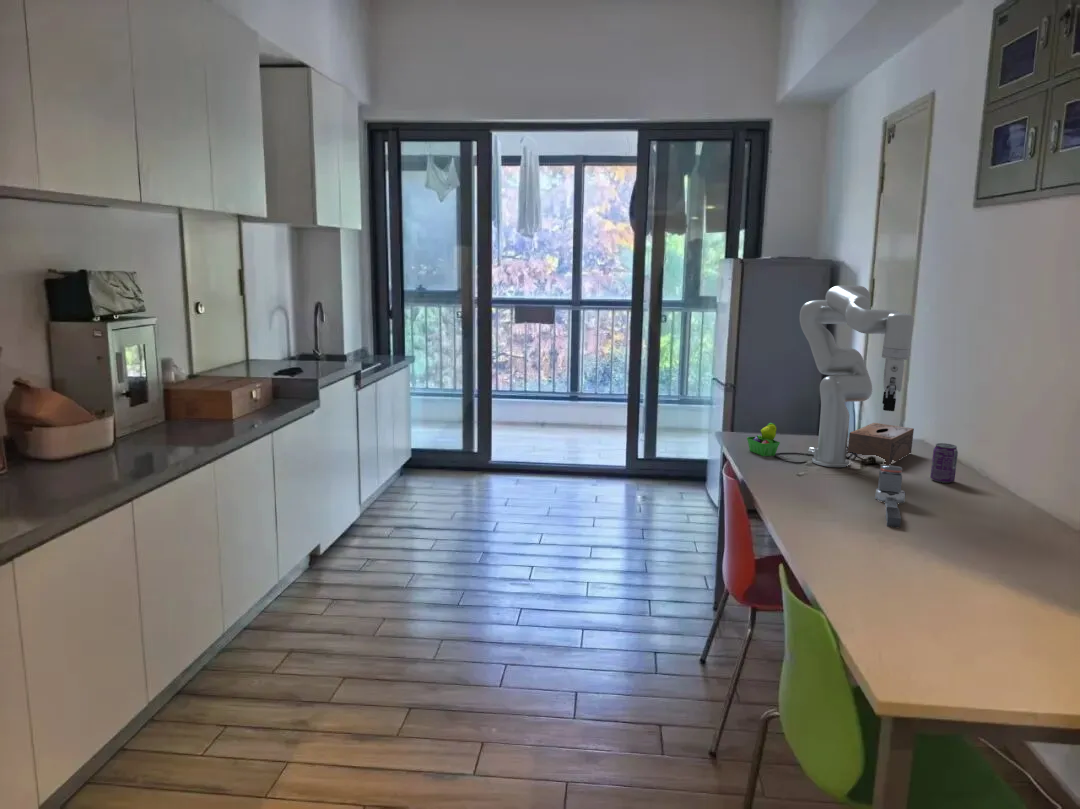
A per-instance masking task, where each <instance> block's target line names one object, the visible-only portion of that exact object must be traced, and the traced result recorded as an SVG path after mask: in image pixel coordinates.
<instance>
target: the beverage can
mask: <svg viewBox="0 0 1080 809" xmlns="http://www.w3.org/2000/svg"><path fill="white" fill-rule="evenodd" d="M958 455H959V451H958V446H957V445H954V444H952V443H945V442H944V443H943V442H940V443H935V446H934V448H933V452H932V459H931V469H930V479H932V480H933V481H934V482H937V483H941V482H942V483H943V484H949V483H952V482H954V481H955V480H956V473H957V472H956V471H957V464H958V462H957V461H958ZM942 483H941V484H942Z"/></svg>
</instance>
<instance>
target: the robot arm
mask: <svg viewBox="0 0 1080 809" xmlns="http://www.w3.org/2000/svg"><path fill="white" fill-rule="evenodd" d="M870 308H871V293H870V291H869V290H868V289H867V288H866V287H865V286H861V285H849V284H848V285H843V284H842V285H841V284H840V285H839V284H838V285H835V286H833V287H831V288H829V289H828V290H827V291H826V293H825V299H814V300H810V301H807V302H805V303H804V304H803V305H802V306H801V307H800V311H799V324H800V329H801V331H802V332H803V334H804V336H805V338H806V340H807V341H808V344H809V348H810V349H811V350H810V351H811V353H812V356H813V359H814V362H815V365H816V368H817V370H818V372H819V373H820V374H822V375H826V376H825V377H824V378H823V379H821V381H820V384H819V394H820V395H819V396H820V416H819V431H818V440H817V447H816V448H815V447H813V446H812V447H811V446H810V447H809V448H808V450H807V453H808V454H811V455H813V457H812V458H811V462H812V463H813V464H815V465H817V466H822V467H823V466H824V467H828V468H847V467H848V466H847V465H848V464H849V461H850V460H849V459H847V457H846V456H847V450H848V439H849V426H850V413H849V410H848V408H847V406H846V404H845V403H849V402H851V403H852V402H854V403H855V402H865V401H867V400H869V399H870V397H871V396H872V394H873V393H872V392H873V384H872V380H871V377H870V375H869V372H868V369H867V366H866V363H865V361H864V358H863V356H862V354H861V352H859V351H858V350H857V349H855V348H852V347H839V346H838V345H837V343H836V341H835V337H834V335H833V333H832V332H831V331H830V330H829V329H828V328H827V327H825V326H824V325H825V324H826V325H829V324H831V325H841V324H847V325H848V327H850V328H851V329H853V330H854V331H856V332H858V333H860V334H864V335H865V334H866V335H869V334H871V335H873V334H875V335H876V334H881V335H884V337H883V345H882V352H881V358H883V359H885V363H884V370H883V390H884V391H883V396H882V404H883V407H882V410H883V411H885V412H886V411H887V412H895V408H896V402H897V398H896V396H897V391H898V392H899V393H900V392H901V391H902V385H903V379H904V378H903V377H904V370H905V361H908V360H909V357H910V348H911V342H912V334H913V327H914V320H915V318H914V315H912V314H911V313H906V312H905V313H904V312H901V311H898V310H894V309H870ZM848 460H849V461H848ZM846 466H847V467H846Z"/></svg>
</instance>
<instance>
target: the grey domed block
mask: <svg viewBox="0 0 1080 809" xmlns="http://www.w3.org/2000/svg"><path fill="white" fill-rule="evenodd" d="M879 469H880V470H879V472H878V483H877V484H878V485H877V488H879V490H882V491H891V492H899V493H901V490H902V483H903V482H902V481H903V474H902V473H903V467H902V466H898V465H894V464H892V465H880V468H879Z"/></svg>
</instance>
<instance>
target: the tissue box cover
mask: <svg viewBox="0 0 1080 809" xmlns="http://www.w3.org/2000/svg"><path fill="white" fill-rule="evenodd" d="M914 429H915V428H912V427H906V426H905V427H904V426H900V425H899V426H898V425H891V424H886V423H885V424H884V423H878V422H872V423H870V424H867V425H865V426H862V427H861V428H858V429H855V430H853V431H850V432H848V443H847V454H848V453H850V452H853V453H857V454H862V455H876V456H879V457H881V458H883V459H885V461H886V462H884V464H886V465H889V464H891V462H892V460H894V461H897V460H899V459H901V458H902V457H904V456H906V455H908V454H909V453H911V454H912V447H913V439H914V431H915V430H914ZM908 456H909V455H908ZM906 457H907V456H906ZM901 460H902V459H901ZM899 461H900V460H899ZM897 462H898V461H897Z"/></svg>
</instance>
